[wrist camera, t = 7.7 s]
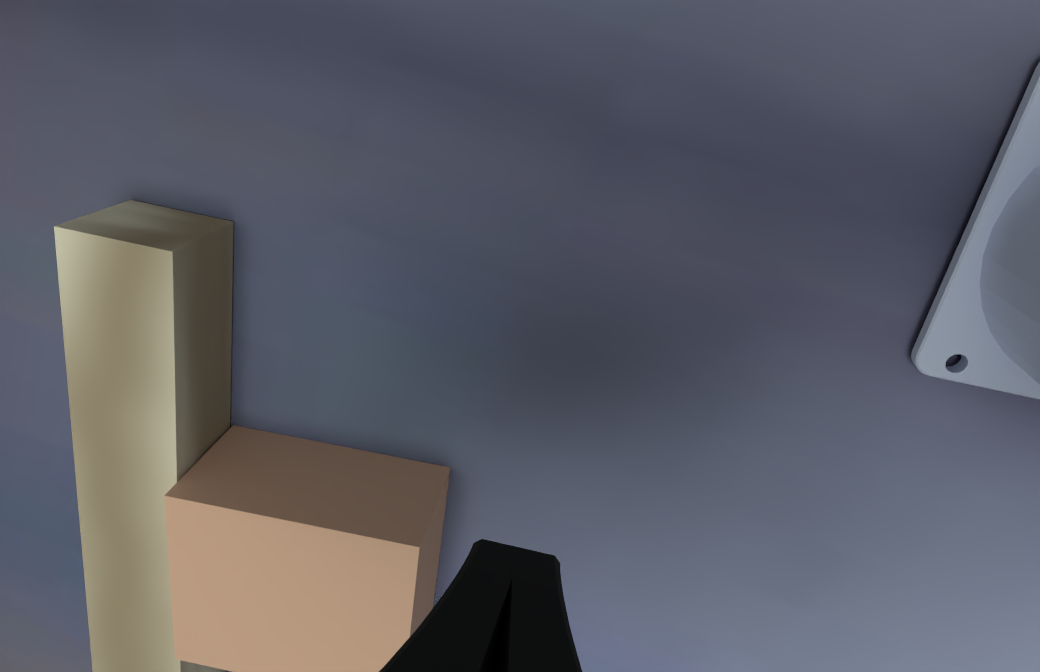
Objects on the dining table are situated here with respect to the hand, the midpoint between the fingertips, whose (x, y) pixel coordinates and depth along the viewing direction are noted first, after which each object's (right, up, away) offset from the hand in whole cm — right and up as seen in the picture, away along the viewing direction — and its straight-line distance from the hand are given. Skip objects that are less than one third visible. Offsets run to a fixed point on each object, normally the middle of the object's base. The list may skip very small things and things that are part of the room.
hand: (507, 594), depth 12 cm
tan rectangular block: (-6, -2, +12) cm, 14 cm away
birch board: (-11, -1, +12) cm, 17 cm away
